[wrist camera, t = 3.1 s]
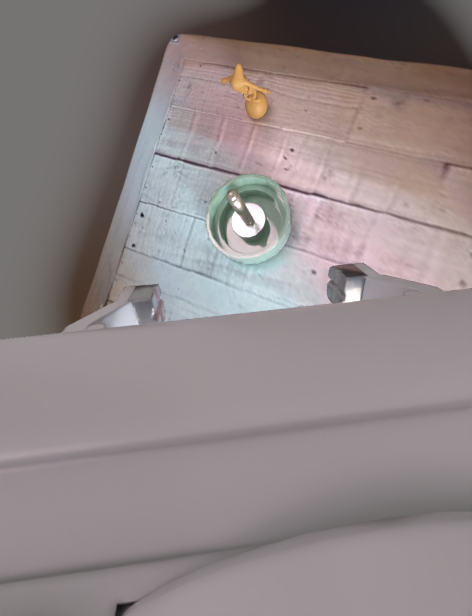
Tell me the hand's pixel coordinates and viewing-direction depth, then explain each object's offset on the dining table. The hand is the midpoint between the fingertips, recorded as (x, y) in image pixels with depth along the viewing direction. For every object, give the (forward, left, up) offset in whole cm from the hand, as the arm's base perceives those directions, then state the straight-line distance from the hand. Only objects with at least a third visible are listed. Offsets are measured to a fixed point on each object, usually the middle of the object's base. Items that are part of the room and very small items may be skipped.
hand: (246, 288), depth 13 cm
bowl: (-3, -16, -35) cm, 39 cm away
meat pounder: (-3, -16, -35) cm, 39 cm away
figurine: (-15, -32, -35) cm, 50 cm away
